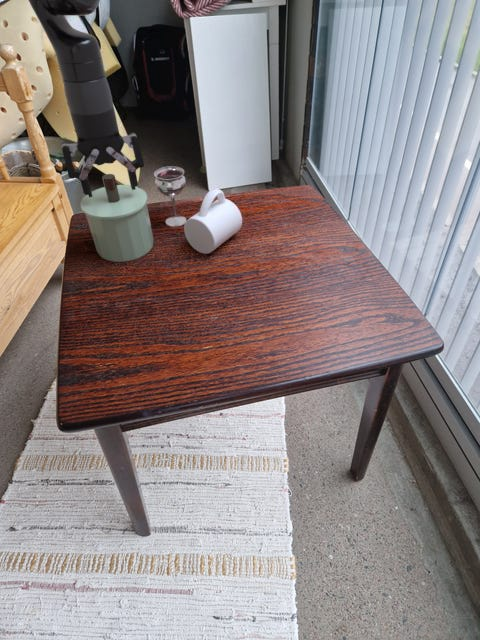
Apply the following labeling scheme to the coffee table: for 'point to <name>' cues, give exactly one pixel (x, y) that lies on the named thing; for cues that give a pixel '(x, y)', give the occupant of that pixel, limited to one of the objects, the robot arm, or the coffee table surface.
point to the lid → (113, 200)
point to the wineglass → (171, 188)
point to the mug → (213, 223)
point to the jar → (122, 236)
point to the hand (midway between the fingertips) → (112, 191)
